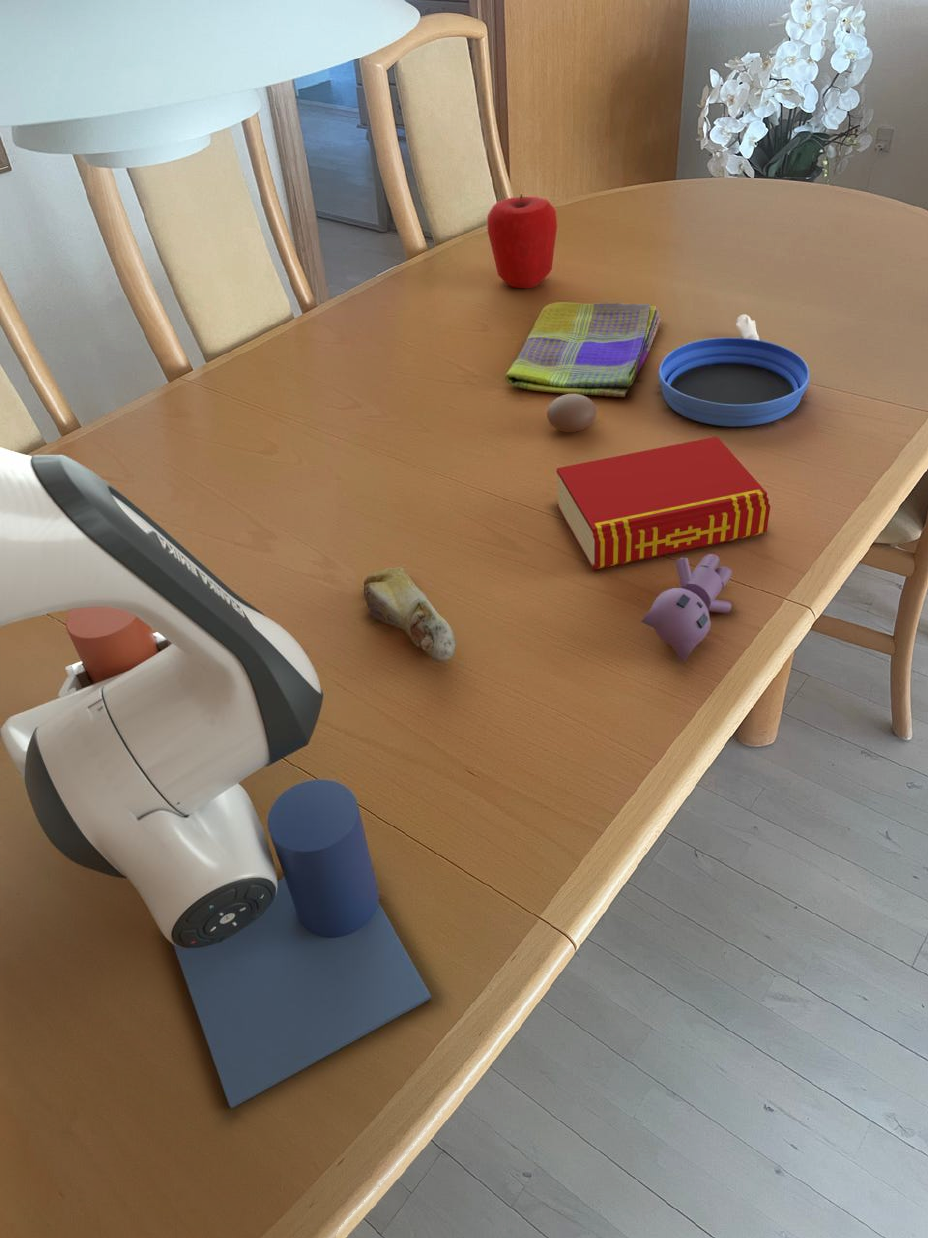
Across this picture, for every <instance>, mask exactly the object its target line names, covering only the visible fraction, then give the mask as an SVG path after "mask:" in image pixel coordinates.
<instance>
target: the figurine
mask: <svg viewBox="0 0 928 1238" xmlns="http://www.w3.org/2000/svg"><path fill="white" fill-rule="evenodd" d="M719 564H720V557H719V556H718V555H717V554H714V553H708V554H706V555H704V556H703V557H702V559H701V560H700V561H699V562H698V564H696V567H694V569H693V570H692V571H691V567H690V562H689V559H688V558H687V557H680V558H678V559H676V561H675V567H676V571H677V574H678V579H679V584H680V587H673V588H669V589H667V590H664V591H662V592H661V593H660V594H659V595H657V597H656V599H654V601H653V603H652V605H651V608H650V609H649V610H648V611H647V613H645V616H644V617H643V618H642V619H641V620H640V623H642V624H643V625H646V626H648V627H650V628H652V629H653V630H654V632H655V634H656V635H657V636H658V637H659V638H660V640H662V641H663V642H664V643H665V644H666V645H669V646H671V647H672V649H673V651H674V652H675V654H676V656H677V657H678V659H679V660H680V663H681V664H682V665H684V664H685V663H686V661H687V660H688V658H689V657H690V655H691V654H692V652H693V650H694V649H695V648H696V646H697V645H699V644H701V642H702V641H703V640H704V639H705V637H706V636H707V634H708V633H709V632H710V630H711V626H712V621H711V619H710V612H714V613H721V614H729V612H731V610H732V603H731V602H730V601H728V600H722V599H716V598H717V597H718V595H720V593H721V591H722V590H723V589H724V587H725V586H726V584H727V583H728V582H729V580H730V579H731V578H732V574H733V573H732V570H731V568H730V567H728V566H723V565H722V566H719ZM718 566H719V567H718Z"/></svg>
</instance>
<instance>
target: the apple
mask: <svg viewBox="0 0 928 1238" xmlns="http://www.w3.org/2000/svg"><path fill="white" fill-rule="evenodd" d="M486 220H487V225H486V226H487V227H486V230H487V234H488V239H489V243H490V246H491V251H492V254H493V259H494V260H493V261H494V263H495V268H496V272H497V276H498V277H499V278H500V279H501V280H502V281H503V282H504V283H505V284H506V285H508V286H509V287H511V288H515V289H531V288H535V287H537V286H538V285H540V284H541V283H542V282H543V281H544V280H545V279H546V278H547V277H548V275H550V273H551V271H552V269H553V261H554V254H555V253H554V252H555V245H556V237H557V231H558V221H557V211H556V209H555V207H554V206H553V204H551V203H550V201H549V200H547V199H546V198H543V197H537V196H523V194H522V193H521V194H520V196H518V197H509V198H503V199H501V200H499V201H496V202H495V203H494V205H492V207H491V209H490V211H489V212H488V214H487V219H486Z"/></svg>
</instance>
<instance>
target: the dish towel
mask: <svg viewBox="0 0 928 1238" xmlns="http://www.w3.org/2000/svg"><path fill="white" fill-rule="evenodd" d="M659 315H660V311H658V310H657V306H656V305H650V303H619V302H599V303H579V302H573V301H560V302H553V303H550V304H549V303H548V304H547V305H545V306H544V307H543V308H542V310H541V311H540V313H539V315H538V317H537V319H536V321H535V322H534V325H533V326H532V329H531V330H530V333H529V334H528V335H527V337H526V340H525V342H524V344H523V346H522V349H521V351H520V352H519V354H518V356H517V357H516V359H515V360H514V362H513V363H512V364H511V365H510V368H509V369H508V370H507V372H506V374H504V380H505V382H506V383H507V384H509V385H511V386H512V387H515V388H521V389H525V390H529V391H535V392H537V391H538V392H542V393H544V392H545V393H555V394H563V395H566V394H580V395H584V396H585V395H586V396H587V395H588V396H599V397H600V396H601V397H602V396H603V397H604V396H605V397H612V398H613V397H614V398H625V397H626V395H627V392H628V391H629V389H630V388H631V386H633V384H634V381H635V380H636V377H637V375H638V373H639V371H640V369H642V366H643V364H644V363H645V360H646V359H647V356H648V353H649V352H650V350H651V347H652V345H653V341H654V339H655V337H656V335H657V332H658V329H659V326H660V323H661V321H662V318H660V317H659Z"/></svg>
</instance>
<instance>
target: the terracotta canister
mask: <svg viewBox="0 0 928 1238" xmlns="http://www.w3.org/2000/svg"><path fill="white" fill-rule="evenodd" d="M65 629H66V632H67V634H68V636H69V638H70V640H71V642H72V645H73V646H74V649H75V650H76V652H77V655H78V657H79V659H80V661H82V663H83V665H84V667H85V669H86V671H87V673H88V676H89V678H90V680H91V682H92V684H96V683H99V682H101V681H104V680H106V679H109V678H111V677H114V676H117V675H119V674H122V673H124V672H127V671H129V670H131V669H133V668H135V667H136V666H138V665H139V664H141V663H143V662H144V661H146V660H148V659H149V658H151V657H152V656H154V655H156V654H157V653H159V652H160V651H159V648H158V646H157V643H156V641H155V637H154V635H153V633H154V632H153V629H152V628H151V627H150V626H148V625H147V624H146V623H144V622H143V621H142V620H140V619H139V618H138V617H136V616H135V615H133V614H132V613H130V612H128V611H125V610H122V609H118V608H113V607H85V608H76V609H70V610H69V612H68V615H67V616H66V618H65Z"/></svg>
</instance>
